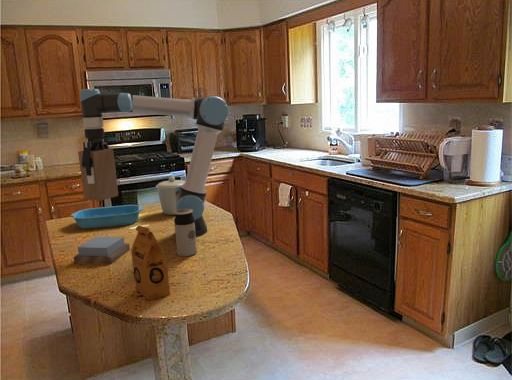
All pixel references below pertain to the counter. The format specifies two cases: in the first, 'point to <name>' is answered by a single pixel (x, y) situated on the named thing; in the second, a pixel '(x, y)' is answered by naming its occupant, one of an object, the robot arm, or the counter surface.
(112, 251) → the slate slab
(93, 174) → the robot arm
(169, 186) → the canister
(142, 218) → the counter surface
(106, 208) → the casserole dish
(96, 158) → the wooden block
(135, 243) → the coffee package
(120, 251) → the walnut slab
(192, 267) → the counter surface
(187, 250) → the travel mug
